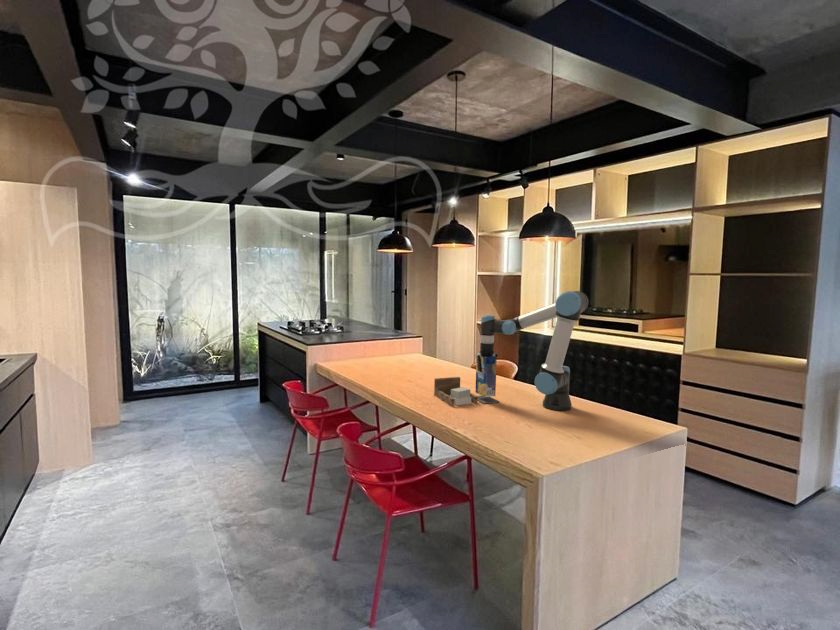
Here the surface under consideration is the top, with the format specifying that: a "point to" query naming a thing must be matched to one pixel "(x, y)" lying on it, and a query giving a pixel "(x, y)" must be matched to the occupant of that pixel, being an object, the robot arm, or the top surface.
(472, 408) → the top surface
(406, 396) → the top surface
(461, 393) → the offcut top
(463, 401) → the offcut low
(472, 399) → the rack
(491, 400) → the mat
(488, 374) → the beverage box
